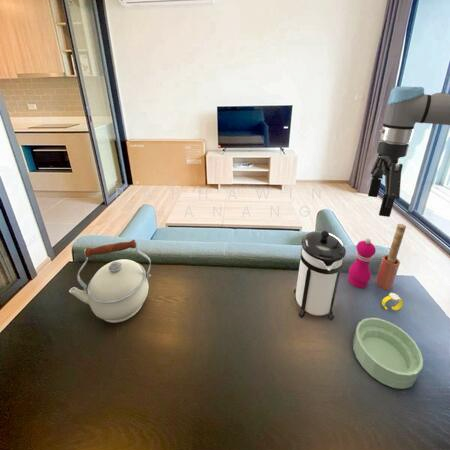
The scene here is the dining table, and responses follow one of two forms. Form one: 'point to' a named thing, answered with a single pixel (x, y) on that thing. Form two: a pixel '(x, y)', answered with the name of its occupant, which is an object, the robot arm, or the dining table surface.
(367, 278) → the pepper mill
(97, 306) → the kettle
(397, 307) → the watch
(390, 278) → the utensil pot
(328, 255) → the coffee press
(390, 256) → the stirring stick
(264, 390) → the dining table surface
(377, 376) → the bowl
